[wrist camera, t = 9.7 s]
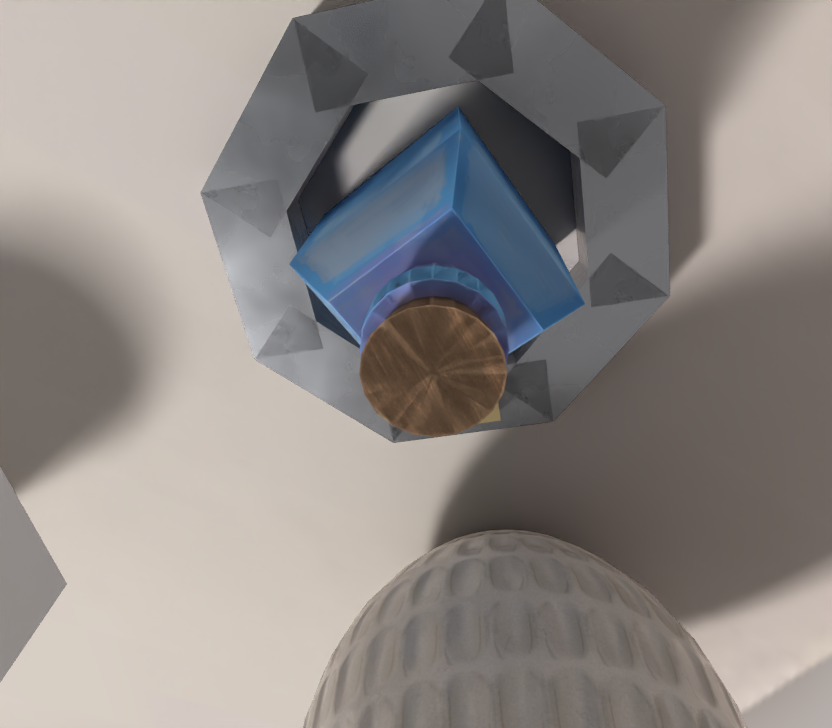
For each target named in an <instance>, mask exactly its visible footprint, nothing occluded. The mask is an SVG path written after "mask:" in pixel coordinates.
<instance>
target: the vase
mask: <svg viewBox="0 0 832 728" xmlns="http://www.w3.org/2000/svg"><path fill="white" fill-rule="evenodd" d="M303 728H747V726H746V724H745V722H744V720H743V717H742V715H741V713H740V711H739V708H738V706H737V704H736V703H735V701H734V700H733V698H732V697H731V695H730V693H729V692H728V690H727V689H726V687H725V686H724V684H723V682H722V681H721V679H720V678H719V676H718V675H717V673H716V671H715V670H714V668H713V667H712V665H711V664H710V662H709V660H708V659H707V657H706V656H705V654H704V653H703V651H702V650H701V648H700V647H699V645H698V644H697V642H696V641H695V639H694V638H693V637H692V636H691V635H690V634H689V633H688V632H687V631H686V630H685V629H684V628H683V627H682V625H681V624H680V623H679V622H678V621H677V620H676V619H675V618H674V617H673V616H672V615H671V614H670V613H669V612H668V610H667V609H666V608H665V607H664V606H663V605H662V604H661V603H660V602H659V601H658V600H657V599H656V598H655V597H654V596H653V595H652V594H651V593H650V592H649V591H648V590H647V589H646V588H644V587H643V586H641V585H640V584H639V583H637V582H636V581H634V580H633V579H631V578H630V577H629V576H627V575H626V574H624V573H623V572H621V571H620V570H618V569H617V568H615V567H614V566H612V565H611V564H609V563H608V562H606V561H605V560H603V559H602V558H600V557H598V556H596V555H594V554H592V553H590V552H588V551H586V550H584V549H582V548H580V547H578V546H575V545H573V544H571V543H568V542H566V541H563V540H561V539H558V538H555V537H552V536H549V535H546V534H541V533H536V532H531V531H523V530H490V531H484V532H478V533H473V534H468V535H465V536H462V537H459V538H456V539H453V540H451V541H449V542H446V543H444V544H442V545H440V546H438V547H436V548H434V549H433V550H431V551H430V552H428V553H426V554H425V555H423V556H421V557H420V558H418V559H417V560H415V561H414V562H412V563H411V564H409V565H408V566H406V567H405V568H404V569H403V570H402V571H401V572H400V573H398V574H397V575H396V576H395V577H394V578H393V579H392V580H391V581H390V582H389V583H388V584H387V585H386V586H384V587H383V588H382V589H381V590H380V591H379V592H378V593H377V594H376V595H375V596H374V597H373V598H372V599H371V600H370V601H368V602H367V604H366V605H365V606H364V608H363V609H362V610H361V612H360V613H359V614H358V616H357V617H356V618H355V620H354V621H353V623H352V624H351V626H350V627H349V629H348V631H347V632H346V634H345V635H344V637H343V638H342V640H341V641H340V643H339V644H338V646H337V648H336V649H335V651H334V652H333V654H332V656H331V658H330V660H329V662H328V664H327V667H326V669H325V671H324V673H323V675H322V678H321V680H320V683H319V685H318V688H317V690H316V693H315V695H314V698H313V701H312V703H311V706H310V708H309V711H308V713H307V716H306V718H305V722H304V726H303Z"/></svg>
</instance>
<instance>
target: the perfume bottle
mask: <svg viewBox="0 0 832 728" xmlns="http://www.w3.org/2000/svg"><path fill="white" fill-rule="evenodd" d="M289 265H290V266H291V267H292V268H293V269H294V271H295V272H296V273H297V274H298V275H299V276H300V277H301V279H302V280H303V281H304V282H305V283H306V284H307V285H308V287H309V288H310V289H311V290H312V291H313V292H314V293H315V294H316V296H317V297H318V298H319V299H320V300H321V301H322V302H323V304H324V305H325V306H326V307H327V308H328V309H329V310H330V312H331V313H332V314H333V315H334V316H335V317H336V318H337V320H338V321H339V322H340V323H341V324H342V325H343V326H344V328H345V329H346V330H347V331H348V332H349V333H350V334H351V336H352V337H353V338H354V339H355V340H356V341H357V342H358V344H359V345H360V354H361V361H360V372H359V376H360V380H361V384H362V388H363V391H364V395H365V396H366V398H367V399H368V401H369V403H370V404H371V406H372V407H373V409H374V410H375V412H376V413H378V414H379V415H380V416H381V417H382V418H384V419H385V420H386V421H387V422H389V423H390V424H391V425H392V426H394V427H397V428H399V429H402V430H404V431H406V432H409V433H411V434H415V435H423V436H430V437H438V436H445V435H453V434H457V433H460V432H462V431H464V430H466V429H469V428H471V427H473V426H476V425H477V424H478V423H479V422H481V421H482V420H483V419H484V418H485V417H486V416H488V415H489V414H490V413H491V412H492V411H493V409H494V408H495V406H496V405H497V403H498V401H499V400H500V398H501V396H502V395H503V392H504V387H505V382H506V378H507V368H506V364H507V359H508V354H509V353H511V352H513V351H514V350H516V349H517V348H519V347H520V346H522V345H523V344H525V343H526V342H528V341H529V340H531V339H533V338H534V337H536V336H537V335H539V334H540V333H542V332H543V331H545V330H546V329H548V328H550V327H551V326H553V325H554V324H556V323H557V322H559V321H560V320H562V319H563V318H565V317H566V316H568V315H570V314H571V313H573V312H574V311H576V310H577V309H579V308H580V307H582V306H583V305H585V302H584V300H583V298H582V296H581V294H580V293H579V291H578V289H577V287H576V285H575V283H574V281H573V279H572V277H571V275H570V273H569V271H568V269H567V267H566V265H565V263H564V261H563V259H562V257H561V255H560V254H559V252H558V250H557V248H556V246H555V244H554V243H553V241H552V240H551V239H550V237H549V236H548V234H547V233H546V231H545V230H544V229H543V227H542V226H541V224H540V223H539V221H538V220H537V219H536V217H535V216H534V214H533V213H532V211H531V210H530V209H529V207H528V206H527V204H526V203H525V201H524V200H523V199H522V197H521V196H520V194H519V193H518V191H517V190H516V189H515V187H514V186H513V184H512V183H511V181H510V180H509V179H508V177H507V176H506V174H505V173H504V171H503V170H502V168H501V167H500V166H499V164H498V163H497V161H496V160H495V158H494V157H493V156H492V154H491V153H490V151H489V150H488V148H487V147H486V146H485V144H484V143H483V141H482V140H481V138H480V137H479V136H478V134H477V133H476V131H475V130H474V128H473V127H472V126H471V124H470V123H469V121H468V120H467V118H466V117H465V116H464V114H463V113H462V111H461V110H460V108H459V107H457V108H456V109H455V110H453V111H452V112H451V113H450V114H449V115H447V116H446V117H445V118H444V119H442V120H441V121H440V122H439V123H437V124H436V125H435V126H434V127H432V128H431V129H430V130H429V131H427V132H426V133H425V134H424V135H423V136H421V137H420V138H419V139H418V140H416V141H415V142H414V143H413V144H411V145H410V146H409V147H408V148H406V149H405V150H404V151H403V152H402V153H400V154H399V155H398V156H397V157H395V158H394V159H393V160H392V161H390V162H389V163H388V164H387V165H385V166H384V167H383V168H382V169H380V170H379V171H378V172H377V173H376V174H374V175H373V176H372V177H371V178H369V179H368V180H367V181H366V182H364V183H363V184H362V185H361V186H359V187H358V188H357V189H356V190H354V191H353V192H352V193H351V194H350V195H348V196H347V197H346V198H345V199H343V200H342V201H341V202H340V203H338V204H337V205H336V206H335V207H333V208H332V209H331V210H330V211H329V212H327V213H326V214H325V215H324V216H323V218H322V219H321V221H320V222H319V223H318V225H317V226H316V228H315V229H314V230H313V232H312V233H311V234H310V236H309V237H308V239H307V240H306V241H305V243H304V244H303V245H302V247H301V248H300V250H299V251H298V252H297V254H296V255H295V256H294V258H293V259H292V261H291V262H290V263H289Z"/></svg>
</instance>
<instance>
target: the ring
mask: <svg viewBox="0 0 832 728" xmlns="http://www.w3.org/2000/svg"><path fill="white" fill-rule="evenodd" d="M476 80H478V81H479V82H481V83H482V84H483V85H485V86H486V87H487V88H489V89H490V90H491V91H492V92H494V93H495V94H496V95H498V96H499V97H500V98H502V99H503V100H504V101H506V102H507V103H508V104H509V105H511V106H512V107H513V108H515V109H516V110H517V111H519V112H520V113H521V114H522V115H524V116H525V117H526V118H528V119H529V120H530V121H532V122H533V123H534V124H536V125H537V126H538V127H539V128H541V129H542V130H543V131H545V132H546V133H547V134H549V135H550V136H551V137H552V138H554V139H555V140H556V141H558V142H559V143H560V144H562V145H563V146H564V147H566V148H567V149H568V150H569V151H570V156H571V169H572V181H573V193H574V205H575V217H576V229H577V241H578V253H579V262H578V263H577V264H576V266H575V267H574V268H573V269H572V270H571V272H570V275H571V277H572V279H573V281H574V283H575V285H576V287H577V289H578V291H579V293H580V294H581V296H582V298H583V300H584V302H585V305H583V306H582V307H580V308H579V309H577V310H576V311H574V312H573V313H571V314H570V315H568V316H566V317H565V318H563V319H562V320H560V321H559V322H557V323H556V324H554V325H553V326H551V327H550V328H548V329H546V330H545V331H543V332H542V333H540V334H539V335H537V336H536V337H534V338H533V339H531V340H529V341H528V342H526V343H525V344H523V345H522V346H520V347H519V348H517V349H516V350H514V351H513V352H511V353H509V354H508V359H507V364H506V368H507V378H506V382H505V387H504V392H503V395H502V396H501V398H500V400H499V401H498V403H497V405H496V406H495V408H494V409H493V411H492V412H491V413H490V414H489V415H488V416H486V417H485V418H484V419H483V420H482V421H481V422H479V423H478V424H477V425H476V426H473V427H471V428H469V429H466V430H464V431H462V432H460V433H457V434H464V433H472V432H479V431H487V430H494V429H502V428H509V427H517V426H524V425H532V424H539V423H547V422H553V421H554V420H555V419H556V418H557V417H558V416H559V415H560V414H561V413H562V412H563V411H564V410H565V408H566V407H567V406H568V405H569V404H570V403H571V402H572V401H573V400H574V399H575V398H576V397H577V396H578V394H579V393H580V392H581V391H582V390H583V389H584V388H585V387H586V386H587V385H588V384H589V383H590V382H591V380H592V379H593V378H594V377H595V376H596V375H597V374H598V373H599V372H600V371H601V370H602V369H603V368H604V366H605V365H606V364H607V363H608V362H609V361H610V360H611V359H612V358H613V357H614V356H615V355H616V353H617V352H618V351H619V350H620V349H621V348H622V347H623V346H624V345H625V344H626V343H627V342H628V341H629V339H630V338H631V337H632V336H633V335H634V334H635V333H636V332H637V331H638V330H639V329H640V328H641V327H642V325H643V324H644V323H645V322H646V321H647V320H648V319H649V318H650V317H651V316H652V315H653V314H654V312H655V311H656V310H657V309H658V308H659V307H660V306H661V305H662V304H663V303H664V302H665V301H666V300H667V298H668V297H669V296H670V278H669V232H668V187H667V142H666V106H665V104H663V103H662V102H661V101H660V100H658V99H657V98H656V97H655V96H654V95H652V94H651V93H650V92H649V91H647V90H646V89H645V88H644V87H643V86H641V85H640V84H639V83H638V82H636V81H635V80H634V79H633V78H632V77H630V76H629V75H628V74H627V73H625V72H624V71H623V70H622V69H621V68H619V67H618V66H617V65H616V64H614V63H613V62H612V61H611V60H610V59H608V58H607V57H606V56H605V55H603V54H602V53H601V52H600V51H599V50H597V49H596V48H595V47H594V46H592V45H591V44H590V43H589V42H588V41H586V40H585V39H584V38H583V37H581V36H580V35H579V34H578V33H577V32H575V31H574V30H573V29H572V28H570V27H569V26H568V25H567V24H566V23H564V22H563V21H562V20H561V19H559V18H558V17H557V16H556V15H555V14H553V13H552V12H551V11H550V10H548V9H547V8H546V7H545V6H544V5H542V4H541V3H540V2H539V1H537V0H373V1H368V2H364V3H359V4H355V5H350V6H345V7H341V8H336V9H332V10H327V11H322V12H318V13H313V14H309V15H304V16H299V17H295V18H292V20H291V22H290V24H289V26H288V28H287V30H286V32H285V34H284V35H283V37H282V39H281V41H280V43H279V45H278V47H277V49H276V51H275V52H274V54H273V56H272V58H271V60H270V62H269V64H268V66H267V68H266V70H265V71H264V73H263V75H262V77H261V79H260V81H259V83H258V85H257V87H256V88H255V90H254V92H253V94H252V96H251V98H250V100H249V102H248V104H247V106H246V107H245V109H244V111H243V113H242V115H241V117H240V119H239V121H238V123H237V124H236V126H235V128H234V130H233V132H232V134H231V136H230V138H229V140H228V142H227V143H226V145H225V147H224V149H223V151H222V153H221V155H220V157H219V159H218V160H217V162H216V164H215V166H214V168H213V170H212V172H211V174H210V176H209V177H208V179H207V181H206V183H205V185H204V187H203V189H202V191H201V196H202V199H203V202H204V205H205V208H206V211H207V214H208V217H209V220H210V223H211V227H212V230H213V233H214V236H215V239H216V242H217V245H218V248H219V251H220V254H221V258H222V261H223V264H224V267H225V270H226V273H227V276H228V279H229V282H230V285H231V288H232V292H233V295H234V298H235V301H236V304H237V307H238V310H239V313H240V316H241V319H242V323H243V326H244V329H245V332H246V335H247V338H248V341H249V344H250V347H251V350H252V353H253V357H254V359H255V360H256V361H258V362H260V363H261V364H263V365H265V366H266V367H268V368H270V369H271V370H273V371H275V372H276V373H278V374H280V375H281V376H283V377H285V378H286V379H288V380H290V381H291V382H293V383H295V384H296V385H298V386H300V387H301V388H303V389H305V390H306V391H308V392H310V393H311V394H313V395H315V396H316V397H318V398H320V399H321V400H323V401H325V402H326V403H328V404H330V405H331V406H333V407H335V408H336V409H338V410H340V411H341V412H343V413H345V414H346V415H348V416H350V417H351V418H353V419H355V420H356V421H358V422H360V423H361V424H363V425H364V426H366V427H368V428H369V429H371V430H373V431H374V432H376V433H378V434H379V435H381V436H383V437H384V438H386V439H388V440H389V441H391V442H394V443H396V442H404V441H411V440H419V439H426V438H434V437H430V436H423V435H415V434H411V433H409V432H406V431H404V430H402V429H399V428H397V427H394V426H392V425H391V424H390V423H389V422H387V421H386V420H385V419H384V418H382V417H381V416H380V415H379V414H378V413H376V412H375V410H374V409H373V407H372V406H371V404H370V403H369V401H368V399H367V398H366V396H365V395H364V391H363V388H362V384H361V380H360V376H359V372H360V361H361V354H360V345H359V344H358V342H357V341H356V340H355V339H354V338H353V337H352V336H351V334H350V333H349V332H348V331H347V330H346V329H345V328H344V326H343V325H342V324H341V323H340V322H339V321H338V320H337V318H336V317H335V316H334V315H333V314H332V313H331V312H330V310H329V309H328V308H327V307H326V306H325V305H324V304H323V302H322V301H321V300H320V299H319V298H318V297H317V296H316V294H315V293H314V292H313V291H312V290H311V289H310V288H309V287H308V285H307V284H306V283H305V282H304V281H303V280H302V279H301V277H300V276H299V275H298V274H297V273H296V272H295V271H294V269H293V268H292V267H291V266H290V265H289V263H290V262H291V261H292V259H293V258H294V256H295V255H296V254H297V252H298V251H299V250H300V248H301V247H302V245H303V244H304V243H305V241H306V240H307V239H308V234H307V230H306V227H305V223H304V219H303V215H302V211H301V207H300V204H299V200H298V199H299V197H300V195H301V194H302V192H303V190H304V189H305V187H306V185H307V184H308V182H309V180H310V179H311V177H312V175H313V174H314V172H315V170H316V169H317V167H318V165H319V164H320V162H321V160H322V159H323V157H324V155H325V154H326V152H327V150H328V149H329V147H330V145H331V144H332V142H333V140H334V139H335V137H336V135H337V134H338V132H339V130H340V129H341V127H342V125H343V124H344V122H345V120H346V119H347V117H348V115H349V114H350V112H351V110H352V109H353V107H354V105H355V104H360V103H365V102H370V101H375V100H380V99H386V98H391V97H396V96H401V95H406V94H411V93H416V92H421V91H426V90H431V89H436V88H441V87H446V86H451V85H456V84H461V83H466V82H471V81H476ZM457 434H453V435H457ZM445 436H449V435H445ZM438 437H441V436H438Z"/></svg>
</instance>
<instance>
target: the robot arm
mask: <svg viewBox="0 0 832 728" xmlns="http://www.w3.org/2000/svg"><path fill="white" fill-rule="evenodd" d="M66 585H67V583H66V581H65V580H64V578H63V576H62V574H61V573H60V571H59V569H58V567H57V566H56V564H55V562H54V560H53V559H52V557H51V555H50V553H49V551H48V550H47V548H46V546H45V544H44V543H43V541H42V539H41V537H40V536H39V534H38V532H37V530H36V529H35V527H34V525H33V523H32V522H31V520H30V518H29V516H28V515H27V513H26V511H25V509H24V507H23V506H22V504H21V502H20V500H19V499H18V497H17V495H16V493H15V492H14V490H13V488H12V486H11V485H10V483H9V481H8V479H7V478H6V476H5V474H4V472H3V471H2V469H1V467H0V682H1V681H2V679H3V678H4V676H5V675H6V673H7V672H8V670H9V669H10V667H11V666H12V664H13V663H14V661H15V660H16V658H17V657H18V656H19V654H20V653H21V651H22V650H23V648H24V647H25V645H26V644H27V642H28V641H29V639H30V638H31V636H32V635H33V633H34V632H35V630H36V629H37V627H38V626H39V625H40V623H41V622H42V620H43V619H44V617H45V616H46V614H47V613H48V611H49V610H50V608H51V607H52V605H53V604H54V602H55V601H56V599H57V598H58V596H59V595H60V594H61V592H62V591H63V589H64V588H65V586H66Z"/></svg>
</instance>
